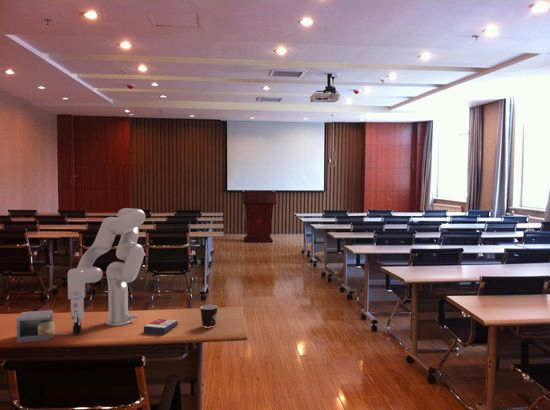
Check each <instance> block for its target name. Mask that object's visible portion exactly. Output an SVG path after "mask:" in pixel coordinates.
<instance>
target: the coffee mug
mask: <svg viewBox="0 0 550 410" xmlns="http://www.w3.org/2000/svg"><path fill="white" fill-rule="evenodd" d="M199 309H200V315H201V325H203V326H207V327H209V326H214V325H215V326H216V325H217V324H216V322H217V317H218V315H217V313H218V306H217V305H215V304H205V305H202V306H200V308H199ZM203 326H202V327H203Z"/></svg>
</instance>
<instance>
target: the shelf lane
mask: <svg viewBox="0 0 550 410" xmlns="http://www.w3.org/2000/svg"><path fill="white" fill-rule="evenodd" d="M53 311H54V310H52V309H49V310H37V311H32V310H31V311H23V312H21V313H20V314H19V315H18V317H16V318H15V319H16V343H17V344H19V343H31V342H42V341H49V340H50V338H49V334H43V335H38V325H39V324H40V323H41V322H54V319H53V318H54V317H53V316H54V315H53V314H54V313H53Z"/></svg>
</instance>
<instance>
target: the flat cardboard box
mask: <svg viewBox="0 0 550 410" xmlns="http://www.w3.org/2000/svg"><path fill="white" fill-rule="evenodd" d="M178 323H179V322H178V321H177V320H176V319H174V320H173V319H167V318H166V319H163V318H157V319H156V320H154V321H151V322H150V323H149V324H146V325H144V326H143V334H144V335H155V336H165V335H167V334H169V332H171V331H173V330H174V329H173V328H175V327H176V326H179V325H178ZM176 328H177V327H176ZM176 328H175V329H176ZM172 329H173V330H172Z"/></svg>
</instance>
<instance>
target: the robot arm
mask: <svg viewBox="0 0 550 410" xmlns="http://www.w3.org/2000/svg"><path fill="white" fill-rule="evenodd" d="M145 220H146V213H145V211H143V210H142V209H140V208H128V207H125V208H121V209H119V210H118V212H117V217H116V216H115V217H114V216H109V217H106V218H104V219H103V220H102V223H101V225H100V228H99V229H98V232H97V235H96V237H95V239H94V241H93V243H92V245H91V246H90V247H89V248H88V249H87V250H86V251H85V252H84V254H82V256H81V258H80V260H79V261H78V265H77V267H76V268H71V269H69V270H68V272H67V299H68V300H70V316H71V318H70V319H71V321H72V323H73V325H72V333H73V334H72V335H74V334H79V335H81V334H80V333H81V332H82V328H81V329H80V323H81V324H82V320H83V319H84V316H85V306H84V305H85V304H84V301H85V300H84V298H86V284H87V283H92V284H93V283H97V282H99V281H101V280H102V278H103V276H104V275H103V270H102V269H101V268H100V267H96V266H93V265H94V263H95V261H96V260H97V259H98V258H99V257H100V256H102V255H104V254H106V253H108V252H110V250H111V249H112V246H113V244H114V242H115V238H116V236H117V235H121V236H120V239H119V242H118V245H117V247H116V251H115V256H116V257H117V259H119V260H122V261H124V262H122V261H113V262H112V263H109V265H108V266H107V267H106V279H107V286H108V287H107V288H108V319H106V320H105V325H106V326H112V327H113V326H114V327H118V326H124V325H128V324H130V323H131V322H132V319H137V318H138V314H135V313H129V291H128V290H129V289H128V283H132V282H134V281H135V280H136V279H137V277H138V275H139V272H140V269H141V267H142V264H143V260H144V257H145V251H144V247H143V246H142V245H141V244H139V243H138V240H139V236H140V235H139V233H140V229H139V227H140V226H141V225H142V224H144V223H145Z"/></svg>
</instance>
